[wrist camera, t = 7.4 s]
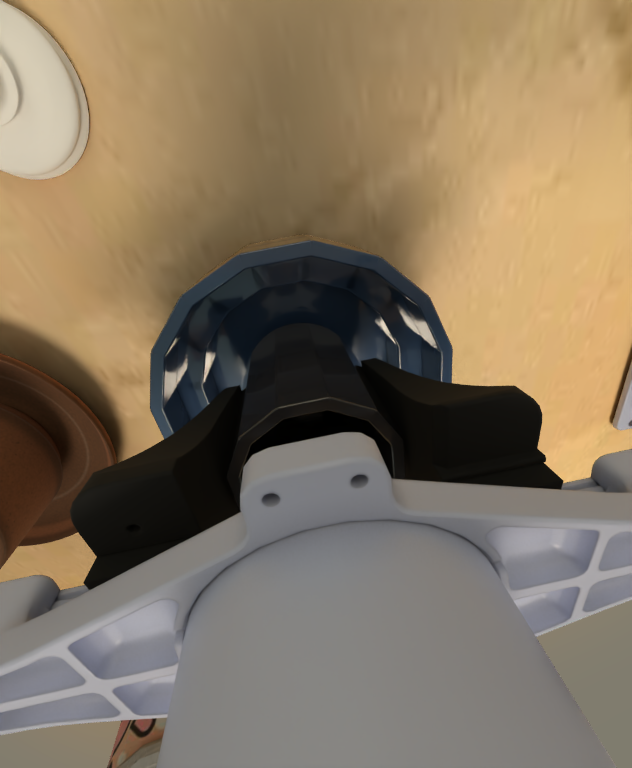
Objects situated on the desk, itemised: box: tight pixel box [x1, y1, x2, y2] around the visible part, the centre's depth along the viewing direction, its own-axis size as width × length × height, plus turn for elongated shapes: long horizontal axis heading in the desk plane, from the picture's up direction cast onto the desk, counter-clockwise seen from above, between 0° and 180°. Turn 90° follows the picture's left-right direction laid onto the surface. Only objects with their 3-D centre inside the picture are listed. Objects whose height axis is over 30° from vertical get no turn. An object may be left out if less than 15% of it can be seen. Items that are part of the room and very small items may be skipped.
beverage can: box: [107, 718, 167, 768], centre depth 22 cm, size 9×8×12 cm
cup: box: [226, 323, 406, 512], centre depth 13 cm, size 5×5×7 cm
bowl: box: [150, 234, 453, 439], centre depth 15 cm, size 12×12×4 cm
